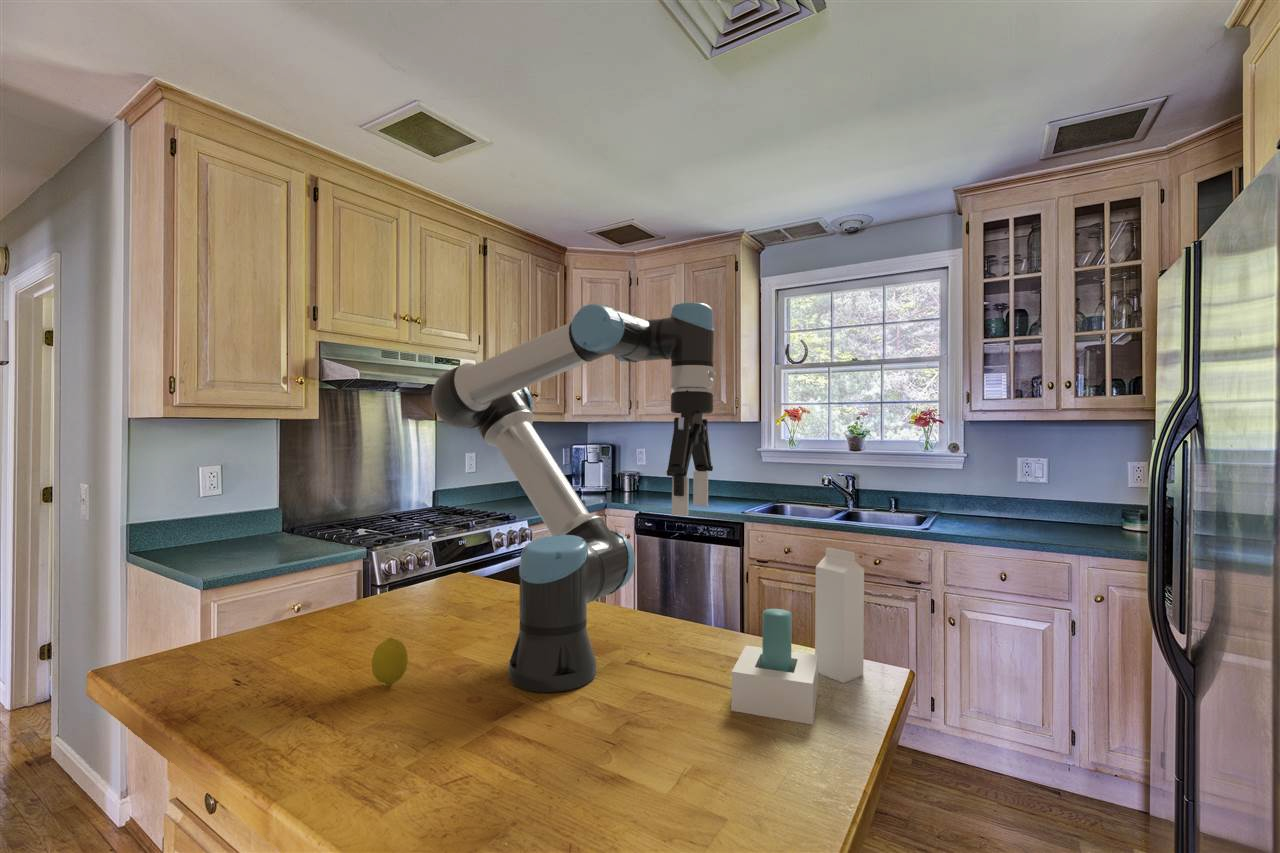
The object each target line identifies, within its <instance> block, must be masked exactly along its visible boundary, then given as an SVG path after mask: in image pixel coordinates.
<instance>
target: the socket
mask: <svg viewBox="0 0 1280 853" xmlns="http://www.w3.org/2000/svg"><path fill="white" fill-rule="evenodd" d="M818 694H819V673H818V655H815V654H813V653H804V652H799V651H798V652H797V651H791V672H784V671H777V670H770V669H763V668H762V647H761V646H752V645H745V646H744V648H743V650H742V652H741V653H740V656H739V658H738V659H737V661H736V663H735V665H734V667H733V669H732V670H731V701H730V702H731V703H730V705H731V707H730V708H731V709H730V710H731V712H737V713H742V714H743V713H744V714H747V715H755V716H761V717H766V718H771V719H777V720H784V721H788V722H794V723H795V722H796V723H801V724H806V725H813V723H814V717H815V711H816V707H817V706H816V705H817V700H818Z"/></svg>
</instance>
